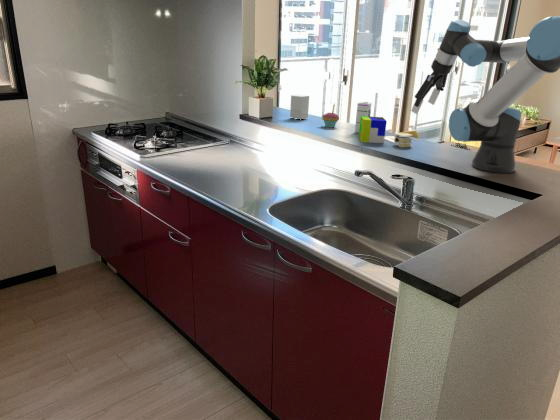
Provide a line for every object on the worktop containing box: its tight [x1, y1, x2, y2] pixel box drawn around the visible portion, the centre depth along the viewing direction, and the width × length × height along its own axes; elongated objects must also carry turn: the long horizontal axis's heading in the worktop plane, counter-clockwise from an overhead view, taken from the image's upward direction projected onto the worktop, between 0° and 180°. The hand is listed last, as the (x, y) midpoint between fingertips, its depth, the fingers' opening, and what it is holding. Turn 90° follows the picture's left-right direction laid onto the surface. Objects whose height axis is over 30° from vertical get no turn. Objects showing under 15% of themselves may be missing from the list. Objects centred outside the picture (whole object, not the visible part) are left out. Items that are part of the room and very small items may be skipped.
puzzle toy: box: [358, 116, 387, 144], centre depth 219 cm, size 10×10×10 cm
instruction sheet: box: [384, 135, 397, 144], centre depth 225 cm, size 13×9×1 cm
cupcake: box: [321, 102, 340, 128], centre depth 245 cm, size 9×8×12 cm
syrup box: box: [354, 101, 372, 134], centre depth 236 cm, size 6×6×14 cm
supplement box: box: [289, 94, 310, 121], centre depth 263 cm, size 7×7×13 cm
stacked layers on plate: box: [393, 132, 413, 148], centre depth 212 cm, size 10×9×6 cm
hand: (422, 107), depth 201 cm, fingers open, 13 cm apart
